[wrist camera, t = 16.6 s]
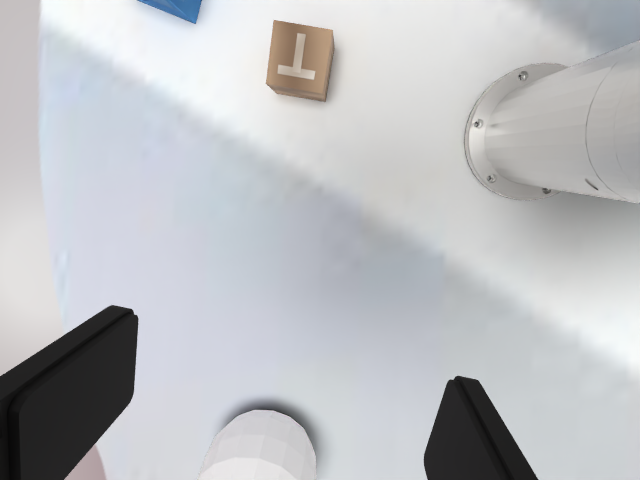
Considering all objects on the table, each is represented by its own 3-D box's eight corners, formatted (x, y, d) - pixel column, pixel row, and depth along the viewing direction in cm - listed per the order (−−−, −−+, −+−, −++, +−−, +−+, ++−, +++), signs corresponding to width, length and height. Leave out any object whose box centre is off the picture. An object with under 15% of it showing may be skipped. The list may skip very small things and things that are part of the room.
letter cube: (334, 47, 34) (332, 29, 29) (325, 101, 35) (322, 93, 30) (283, 39, 34) (273, 19, 29) (276, 93, 35) (265, 83, 30)
